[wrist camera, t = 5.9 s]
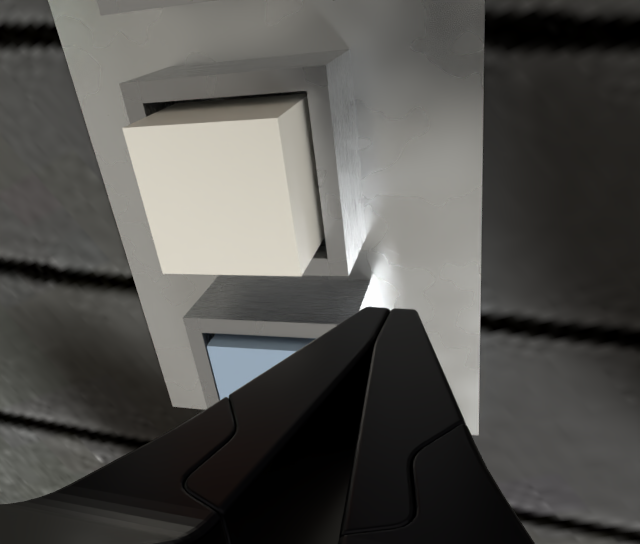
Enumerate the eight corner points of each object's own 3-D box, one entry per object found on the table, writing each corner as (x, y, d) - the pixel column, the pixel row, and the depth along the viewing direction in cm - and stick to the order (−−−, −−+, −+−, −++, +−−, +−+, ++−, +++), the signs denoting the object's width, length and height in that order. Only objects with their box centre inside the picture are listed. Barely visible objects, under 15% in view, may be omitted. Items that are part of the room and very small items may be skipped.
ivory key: (310, 93, 16) (277, 117, 14) (327, 232, 18) (301, 276, 16) (175, 103, 17) (122, 127, 15) (204, 232, 19) (162, 273, 17)
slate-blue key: (346, 305, 21) (327, 353, 18) (357, 397, 23) (341, 451, 20) (238, 301, 22) (206, 346, 20) (257, 389, 24) (230, 439, 22)
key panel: (490, -396, 13) (491, -517, 9) (479, 421, 24) (477, 494, 20) (-9, -245, 16) (-130, -295, 13) (180, 395, 27) (139, 453, 24)
